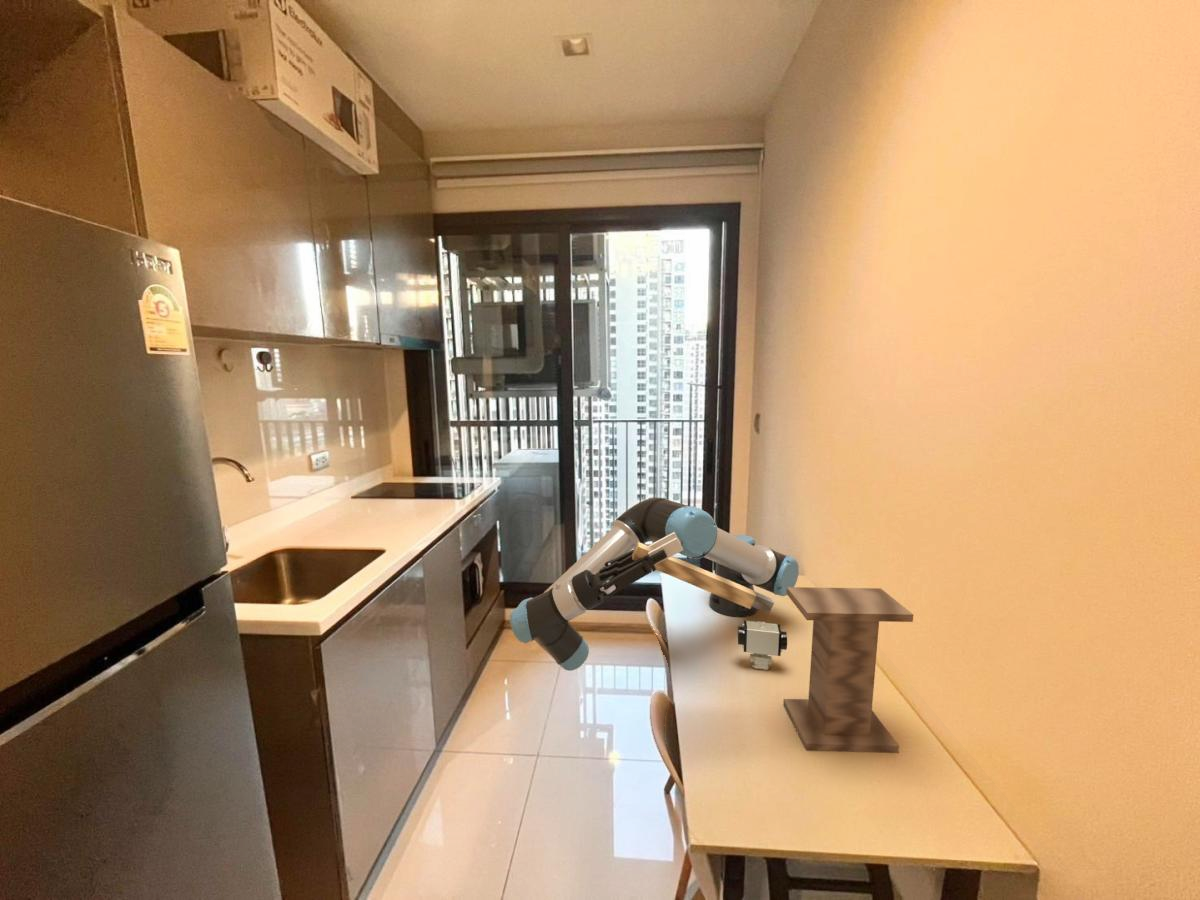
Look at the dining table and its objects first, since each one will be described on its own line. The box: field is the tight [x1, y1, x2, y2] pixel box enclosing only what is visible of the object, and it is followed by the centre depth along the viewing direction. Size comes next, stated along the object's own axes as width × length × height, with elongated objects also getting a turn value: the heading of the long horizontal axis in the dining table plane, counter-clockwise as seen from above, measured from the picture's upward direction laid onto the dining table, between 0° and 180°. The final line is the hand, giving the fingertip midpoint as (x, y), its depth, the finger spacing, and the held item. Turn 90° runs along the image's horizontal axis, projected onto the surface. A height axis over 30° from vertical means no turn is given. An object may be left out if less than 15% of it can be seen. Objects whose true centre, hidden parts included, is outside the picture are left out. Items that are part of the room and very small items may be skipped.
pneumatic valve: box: [737, 620, 788, 671], centre depth 128 cm, size 6×12×12 cm, turn 77°
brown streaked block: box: [632, 542, 775, 614], centre depth 103 cm, size 30×3×3 cm, turn 88°
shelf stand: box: [782, 586, 914, 754], centre depth 104 cm, size 20×14×28 cm
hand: (678, 540), depth 102 cm, fingers closed on brown streaked block, 3 cm apart
